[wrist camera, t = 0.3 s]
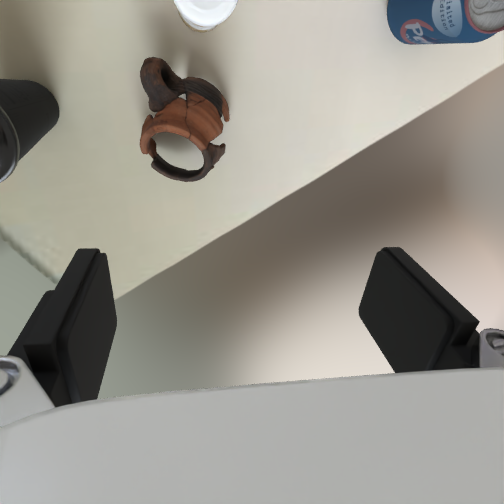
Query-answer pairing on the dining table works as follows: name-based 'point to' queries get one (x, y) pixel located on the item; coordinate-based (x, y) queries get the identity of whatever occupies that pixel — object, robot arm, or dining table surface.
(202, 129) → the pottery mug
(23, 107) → the drinking cup
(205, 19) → the sprinkles bottle
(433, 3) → the soda can
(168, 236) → the dining table surface
